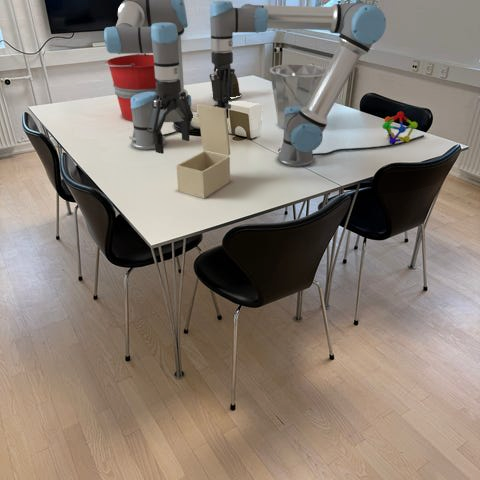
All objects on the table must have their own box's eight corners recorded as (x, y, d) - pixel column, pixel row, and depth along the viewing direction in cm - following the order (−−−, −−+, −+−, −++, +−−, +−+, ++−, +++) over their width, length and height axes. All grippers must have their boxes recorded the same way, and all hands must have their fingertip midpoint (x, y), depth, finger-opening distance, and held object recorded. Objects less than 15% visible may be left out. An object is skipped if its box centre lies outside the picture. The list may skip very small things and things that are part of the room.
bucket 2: (296, 138, 215) (301, 78, 201) (255, 124, 234) (256, 68, 219) (335, 125, 232) (342, 70, 217) (294, 113, 251) (297, 61, 236)
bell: (227, 105, 294) (202, 96, 282) (238, 66, 289) (213, 55, 277) (243, 108, 280) (217, 98, 268) (255, 66, 275) (229, 55, 263)
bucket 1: (121, 106, 263) (114, 51, 247) (180, 106, 262) (176, 52, 246) (104, 123, 233) (95, 63, 217) (170, 124, 232) (166, 64, 216)
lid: (224, 109, 155) (237, 100, 160) (196, 104, 160) (210, 96, 165) (228, 155, 166) (240, 145, 172) (203, 149, 172) (215, 140, 177)
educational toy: (377, 146, 209) (379, 114, 202) (384, 138, 219) (386, 107, 211) (411, 149, 202) (415, 116, 195) (417, 141, 212) (420, 109, 204)
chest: (204, 198, 160) (202, 172, 154) (178, 191, 165) (176, 165, 160) (230, 181, 172) (229, 156, 167) (205, 175, 178) (204, 150, 172)
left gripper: (149, 89, 124) (157, 160, 135) (201, 73, 142) (204, 137, 153) (130, 86, 127) (138, 155, 139) (183, 70, 145) (187, 133, 157)
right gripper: (219, 55, 147) (220, 125, 160) (242, 49, 158) (242, 115, 170) (201, 53, 150) (204, 121, 163) (224, 47, 161) (225, 112, 173)
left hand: (173, 146), depth 146 cm, fingers open, 13 cm apart
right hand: (223, 118), depth 166 cm, fingers closed on lid, 2 cm apart
